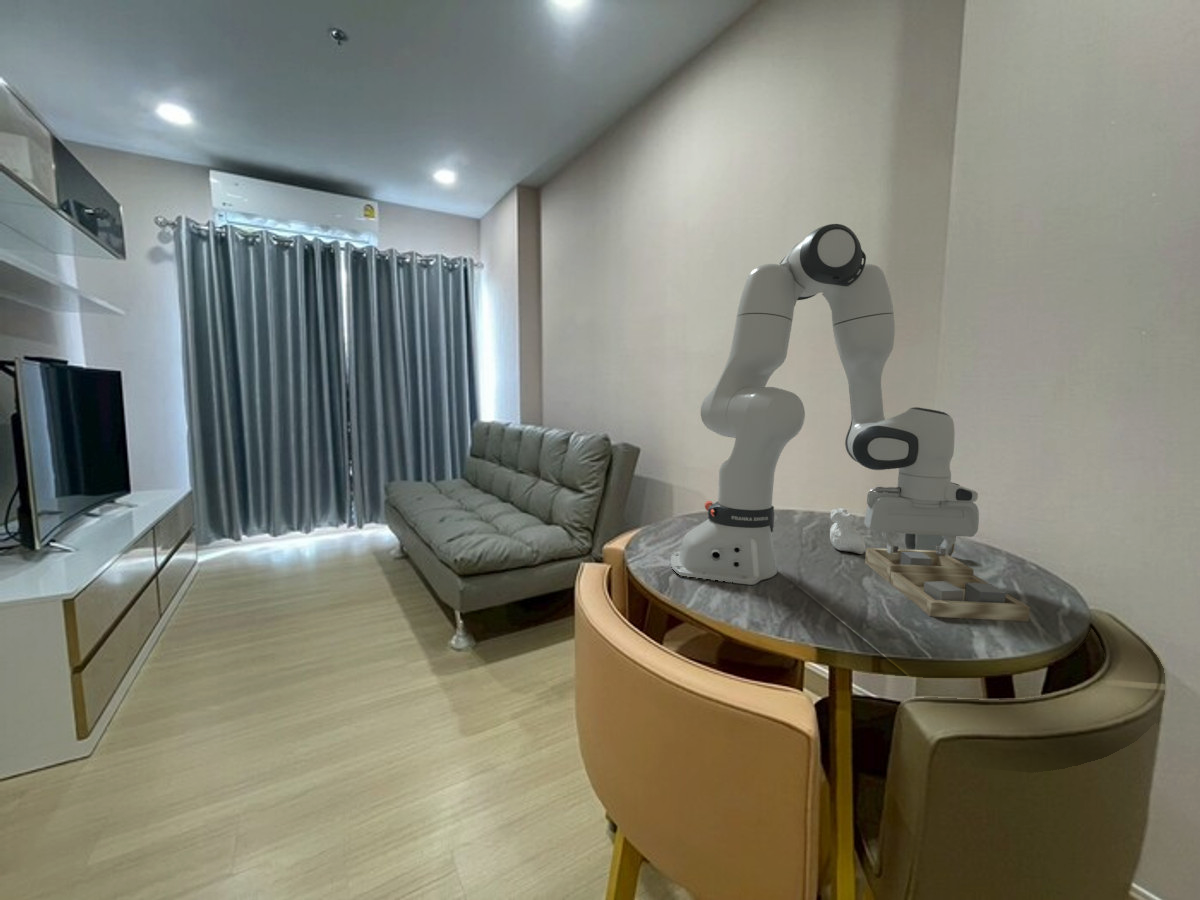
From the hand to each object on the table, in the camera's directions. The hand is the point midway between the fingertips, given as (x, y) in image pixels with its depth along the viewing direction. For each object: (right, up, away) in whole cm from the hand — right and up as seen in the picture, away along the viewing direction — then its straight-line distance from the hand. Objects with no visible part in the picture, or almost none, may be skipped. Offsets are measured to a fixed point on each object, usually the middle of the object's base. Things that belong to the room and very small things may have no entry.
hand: (916, 554), depth 100 cm
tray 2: (-1, -6, -12) cm, 13 cm away
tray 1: (0, -5, +1) cm, 5 cm away
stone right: (+2, -6, -16) cm, 17 cm away
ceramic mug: (+12, -4, +15) cm, 19 cm away
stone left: (-5, -6, -15) cm, 17 cm away
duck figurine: (-6, -3, +18) cm, 19 cm away
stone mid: (0, -4, +1) cm, 4 cm away
